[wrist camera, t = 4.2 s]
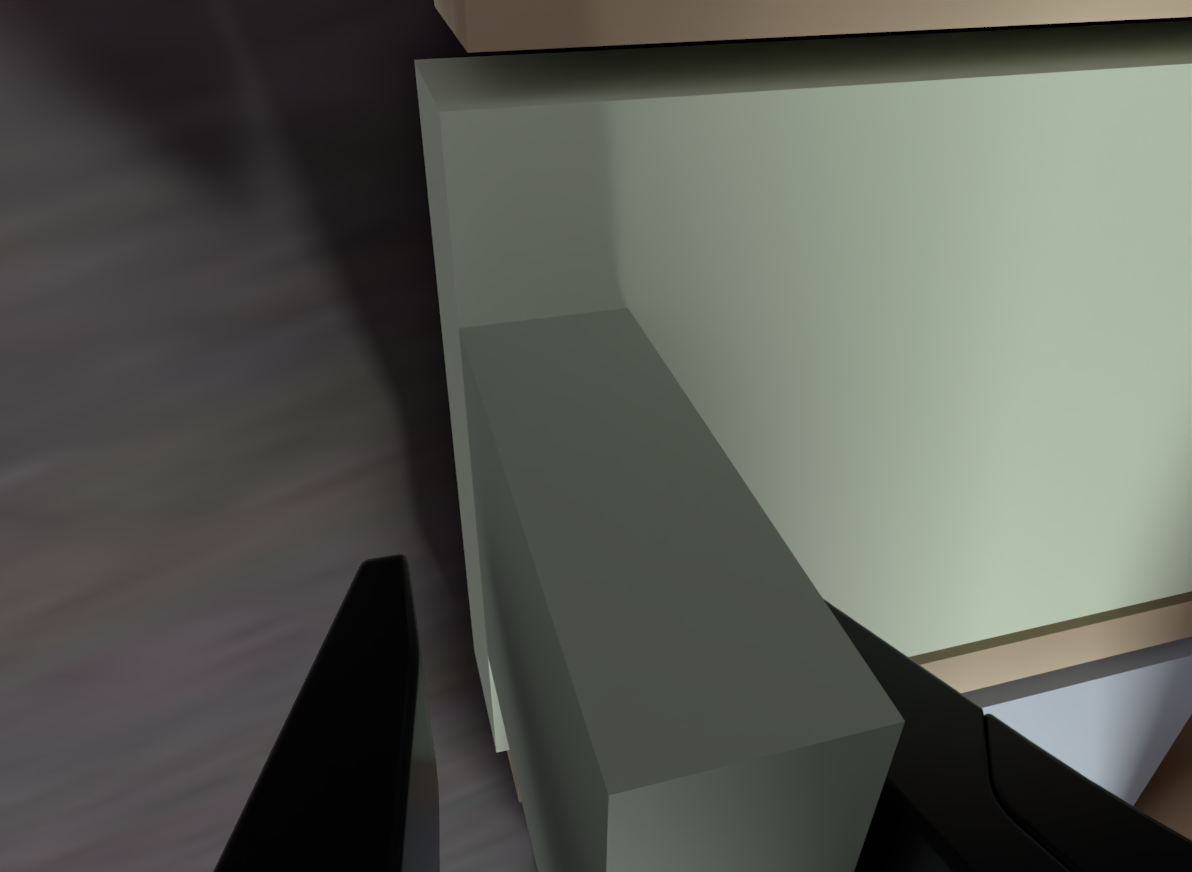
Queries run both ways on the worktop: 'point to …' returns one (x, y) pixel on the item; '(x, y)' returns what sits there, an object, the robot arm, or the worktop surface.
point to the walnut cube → (1172, 786)
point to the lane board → (826, 7)
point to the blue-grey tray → (1103, 713)
